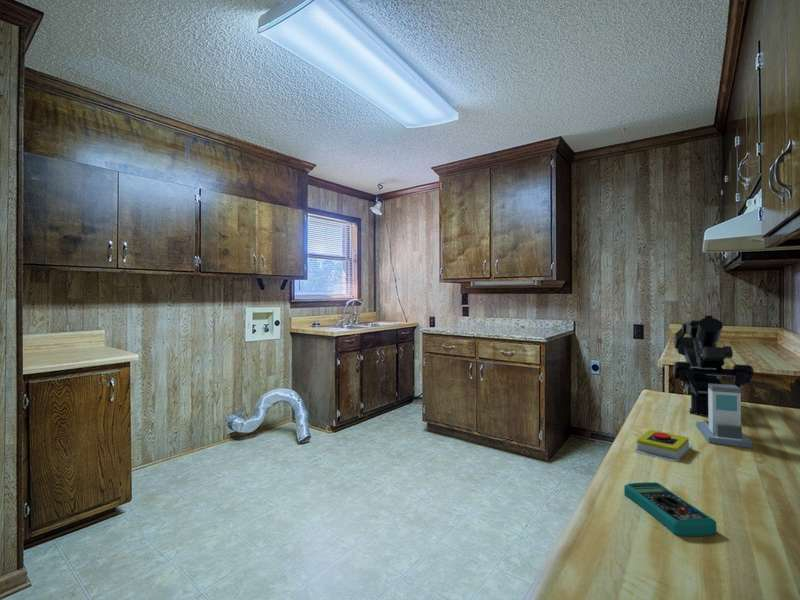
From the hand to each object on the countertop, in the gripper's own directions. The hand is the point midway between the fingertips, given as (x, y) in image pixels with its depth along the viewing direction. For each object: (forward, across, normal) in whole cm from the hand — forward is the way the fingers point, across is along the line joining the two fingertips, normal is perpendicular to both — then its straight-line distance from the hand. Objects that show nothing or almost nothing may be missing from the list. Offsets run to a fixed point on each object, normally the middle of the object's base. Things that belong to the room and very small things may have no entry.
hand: (716, 396), depth 117 cm
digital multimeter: (+48, -20, -33) cm, 61 cm away
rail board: (+10, 0, +4) cm, 11 cm away
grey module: (+11, 0, 0) cm, 11 cm away
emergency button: (+23, -16, -8) cm, 29 cm away
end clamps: (+11, 0, 0) cm, 11 cm away
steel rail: (+9, 0, +2) cm, 10 cm away
